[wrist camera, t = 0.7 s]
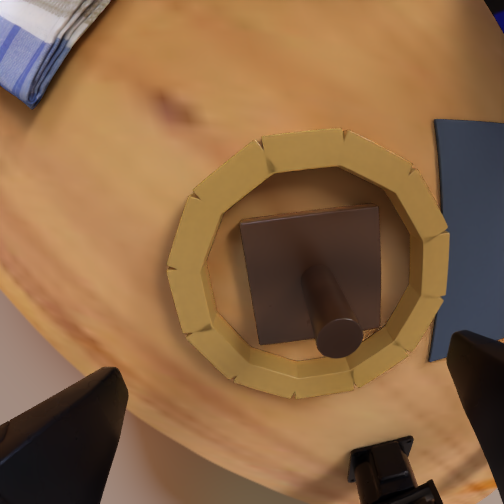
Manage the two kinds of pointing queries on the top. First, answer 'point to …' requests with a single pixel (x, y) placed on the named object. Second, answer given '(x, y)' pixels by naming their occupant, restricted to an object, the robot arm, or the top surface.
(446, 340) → the felt mat
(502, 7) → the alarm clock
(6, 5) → the dish towel
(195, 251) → the hoop
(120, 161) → the top surface
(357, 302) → the peg stand
